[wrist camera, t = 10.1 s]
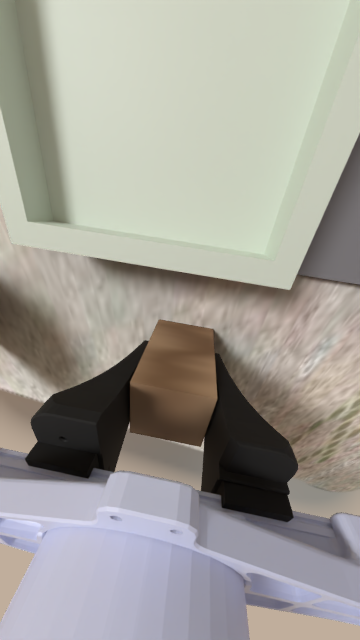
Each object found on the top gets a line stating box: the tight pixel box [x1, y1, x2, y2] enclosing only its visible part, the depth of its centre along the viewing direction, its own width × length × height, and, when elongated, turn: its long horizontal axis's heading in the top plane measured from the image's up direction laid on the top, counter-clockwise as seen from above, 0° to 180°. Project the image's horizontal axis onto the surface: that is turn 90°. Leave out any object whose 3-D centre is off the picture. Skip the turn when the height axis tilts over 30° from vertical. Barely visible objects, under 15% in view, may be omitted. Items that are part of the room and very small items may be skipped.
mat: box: [297, 133, 360, 285], centre depth 7 cm, size 22×17×1 cm
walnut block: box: [130, 320, 217, 447], centre depth 12 cm, size 4×4×6 cm
